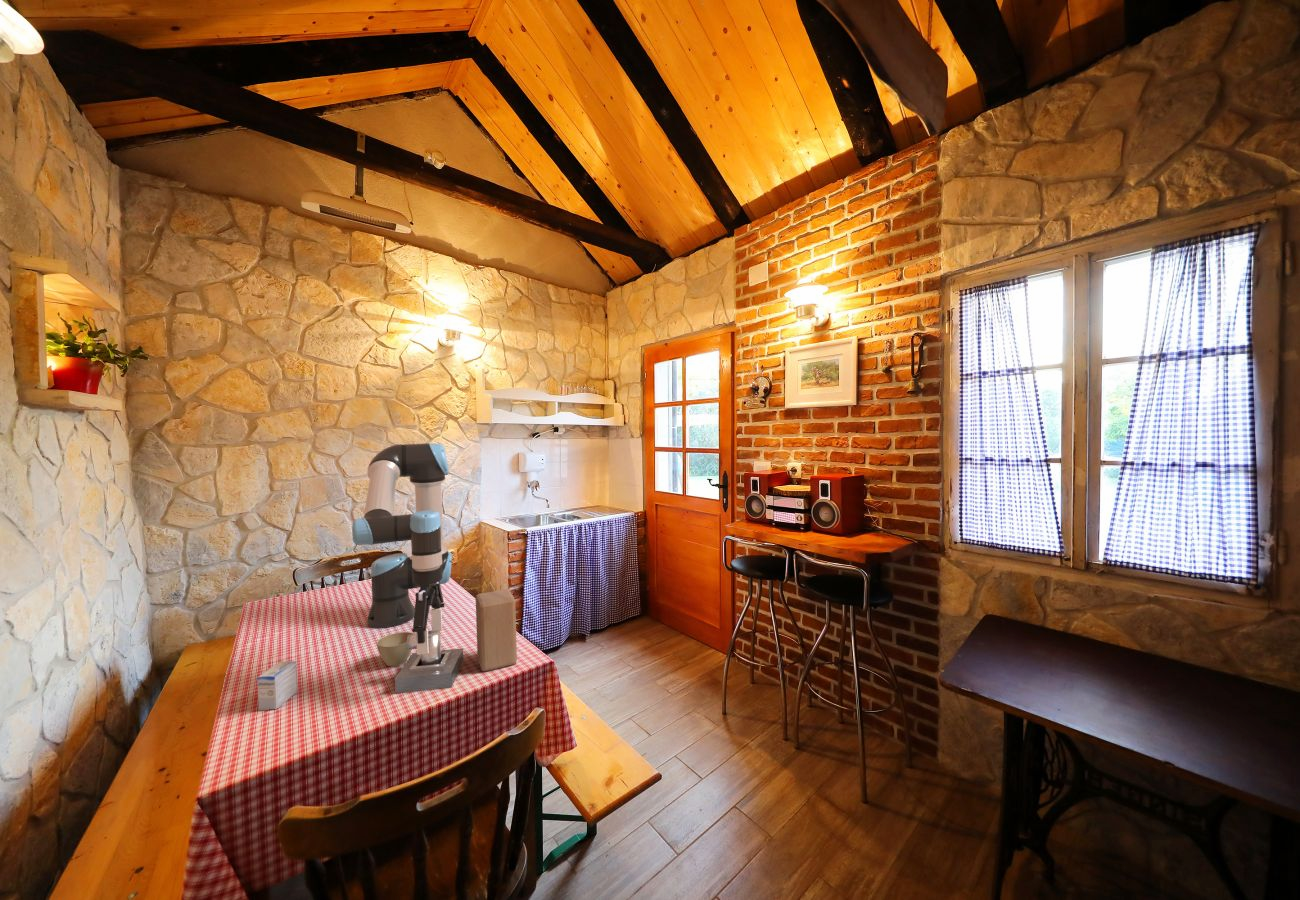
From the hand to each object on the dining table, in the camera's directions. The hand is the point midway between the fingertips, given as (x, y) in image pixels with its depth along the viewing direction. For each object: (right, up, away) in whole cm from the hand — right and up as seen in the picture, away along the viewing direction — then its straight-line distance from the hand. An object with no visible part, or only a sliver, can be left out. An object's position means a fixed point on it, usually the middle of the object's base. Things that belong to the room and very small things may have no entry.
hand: (430, 641), depth 129 cm
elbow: (-1, -10, 0) cm, 10 cm away
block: (+16, -9, +8) cm, 20 cm away
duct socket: (0, -10, 0) cm, 10 cm away
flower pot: (-14, -10, +8) cm, 19 cm away
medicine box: (-34, -11, -11) cm, 37 cm away
